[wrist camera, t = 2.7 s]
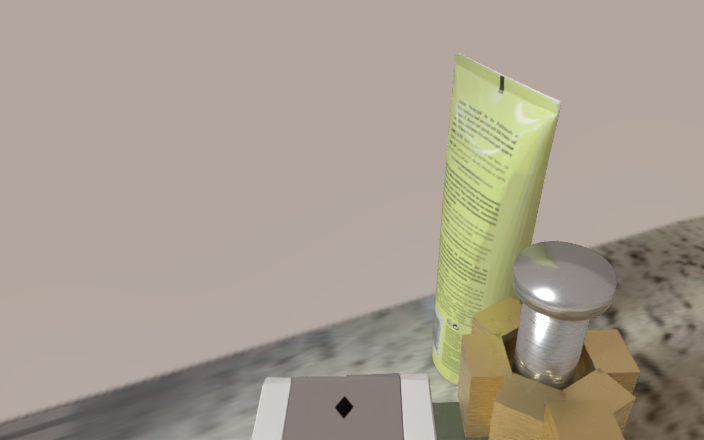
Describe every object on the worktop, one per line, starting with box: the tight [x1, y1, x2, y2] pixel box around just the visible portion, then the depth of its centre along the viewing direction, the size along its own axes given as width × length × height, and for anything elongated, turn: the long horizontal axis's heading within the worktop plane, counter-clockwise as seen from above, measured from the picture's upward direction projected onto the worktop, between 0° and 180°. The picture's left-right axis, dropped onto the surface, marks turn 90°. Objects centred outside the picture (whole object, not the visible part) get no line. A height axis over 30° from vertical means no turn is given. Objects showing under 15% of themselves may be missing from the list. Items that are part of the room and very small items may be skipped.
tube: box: [432, 52, 561, 385], centre depth 29 cm, size 6×5×20 cm
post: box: [432, 241, 617, 440], centre depth 23 cm, size 11×10×15 cm
